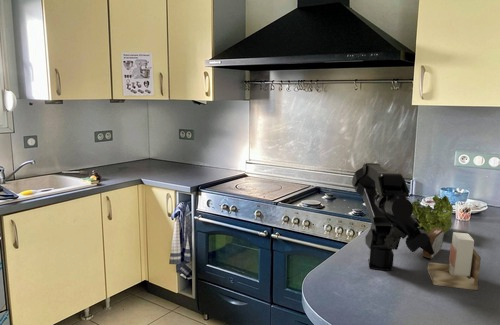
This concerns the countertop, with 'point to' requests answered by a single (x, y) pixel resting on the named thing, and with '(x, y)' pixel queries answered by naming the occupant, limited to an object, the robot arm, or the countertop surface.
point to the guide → (444, 278)
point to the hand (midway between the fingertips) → (432, 253)
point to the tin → (435, 242)
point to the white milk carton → (461, 254)
